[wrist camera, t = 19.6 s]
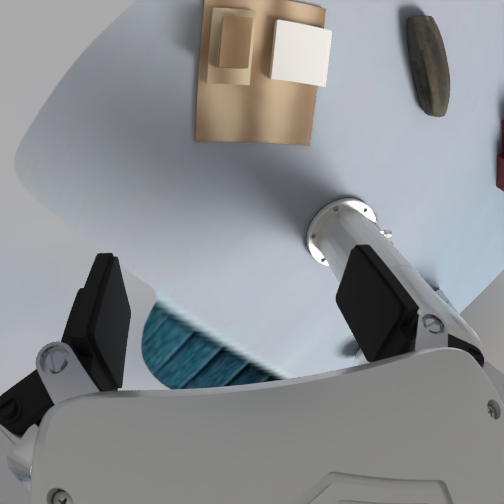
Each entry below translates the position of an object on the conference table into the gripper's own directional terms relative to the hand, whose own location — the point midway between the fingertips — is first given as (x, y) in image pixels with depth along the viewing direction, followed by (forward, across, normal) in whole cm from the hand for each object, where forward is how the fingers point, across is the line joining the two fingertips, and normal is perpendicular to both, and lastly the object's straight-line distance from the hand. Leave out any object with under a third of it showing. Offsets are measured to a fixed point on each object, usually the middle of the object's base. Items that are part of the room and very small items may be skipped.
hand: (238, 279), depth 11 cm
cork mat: (+28, -6, -9) cm, 30 cm away
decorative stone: (+29, -32, -16) cm, 46 cm away
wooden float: (+28, -2, -12) cm, 30 cm away
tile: (+27, -10, -8) cm, 30 cm away
